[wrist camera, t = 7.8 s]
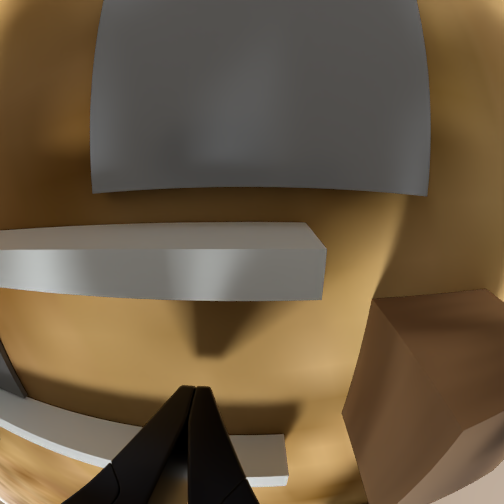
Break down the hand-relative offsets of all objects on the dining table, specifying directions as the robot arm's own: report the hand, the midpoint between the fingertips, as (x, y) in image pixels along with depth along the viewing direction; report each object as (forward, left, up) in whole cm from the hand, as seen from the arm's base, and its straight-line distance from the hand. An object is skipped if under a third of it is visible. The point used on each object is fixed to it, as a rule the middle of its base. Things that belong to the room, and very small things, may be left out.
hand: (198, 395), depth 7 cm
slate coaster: (+2, +10, -1) cm, 10 cm away
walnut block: (+7, 0, -1) cm, 7 cm away
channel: (-5, 0, -1) cm, 5 cm away
